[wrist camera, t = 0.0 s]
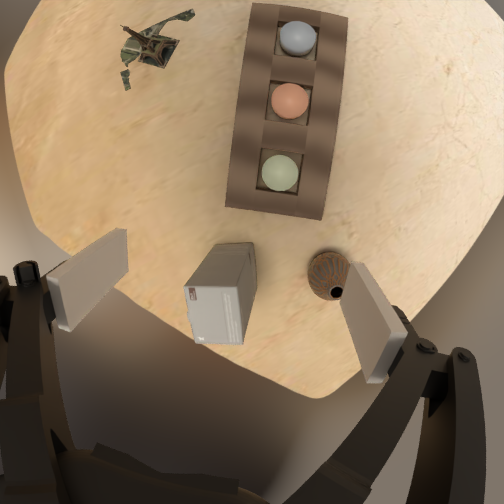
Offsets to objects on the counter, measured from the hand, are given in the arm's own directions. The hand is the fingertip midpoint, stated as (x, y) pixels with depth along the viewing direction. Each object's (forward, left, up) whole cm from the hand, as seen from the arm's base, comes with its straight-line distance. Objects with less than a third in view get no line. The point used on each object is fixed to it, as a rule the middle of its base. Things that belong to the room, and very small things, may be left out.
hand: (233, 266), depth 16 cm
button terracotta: (-13, +3, -27) cm, 30 cm away
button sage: (-3, +3, -27) cm, 27 cm away
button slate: (-23, +3, -27) cm, 35 cm away
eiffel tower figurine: (-22, -18, -29) cm, 41 cm away
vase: (+11, +13, -28) cm, 33 cm away
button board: (-13, +3, -28) cm, 31 cm away
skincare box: (+13, -2, -28) cm, 31 cm away
